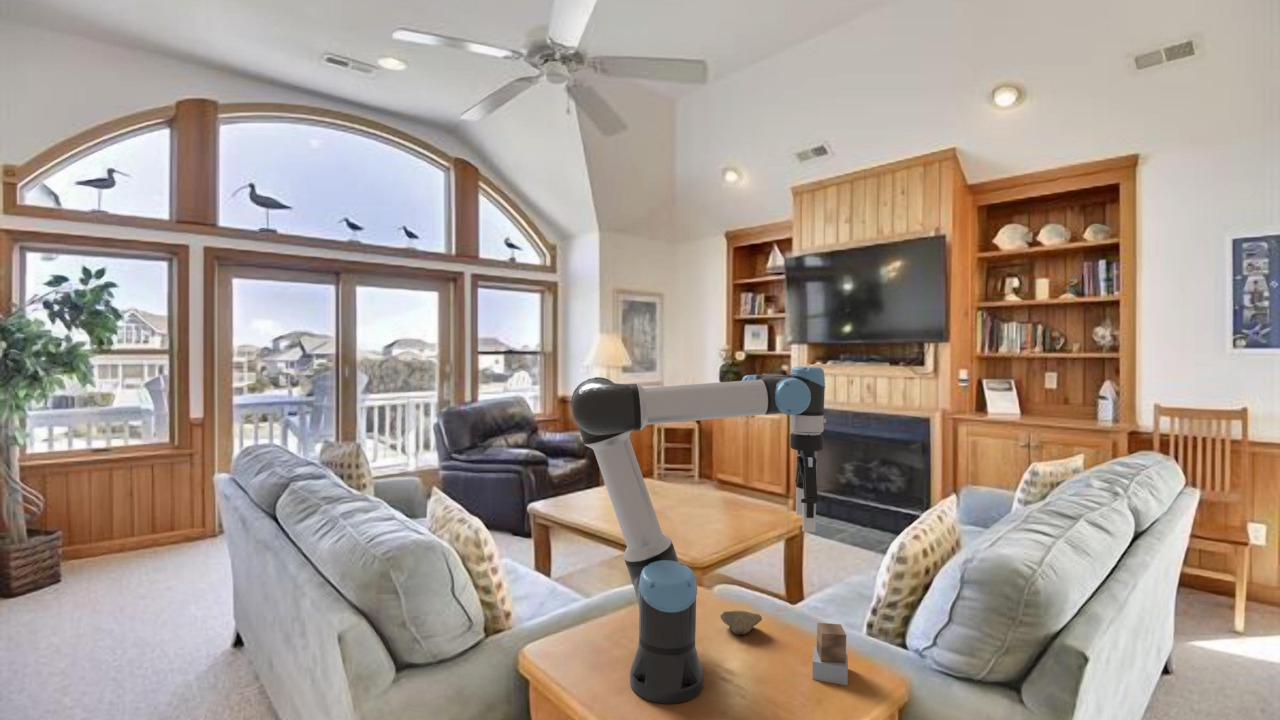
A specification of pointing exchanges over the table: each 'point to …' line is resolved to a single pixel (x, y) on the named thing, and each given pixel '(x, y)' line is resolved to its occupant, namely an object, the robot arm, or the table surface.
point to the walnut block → (831, 643)
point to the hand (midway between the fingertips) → (805, 522)
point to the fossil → (740, 621)
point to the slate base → (829, 670)
